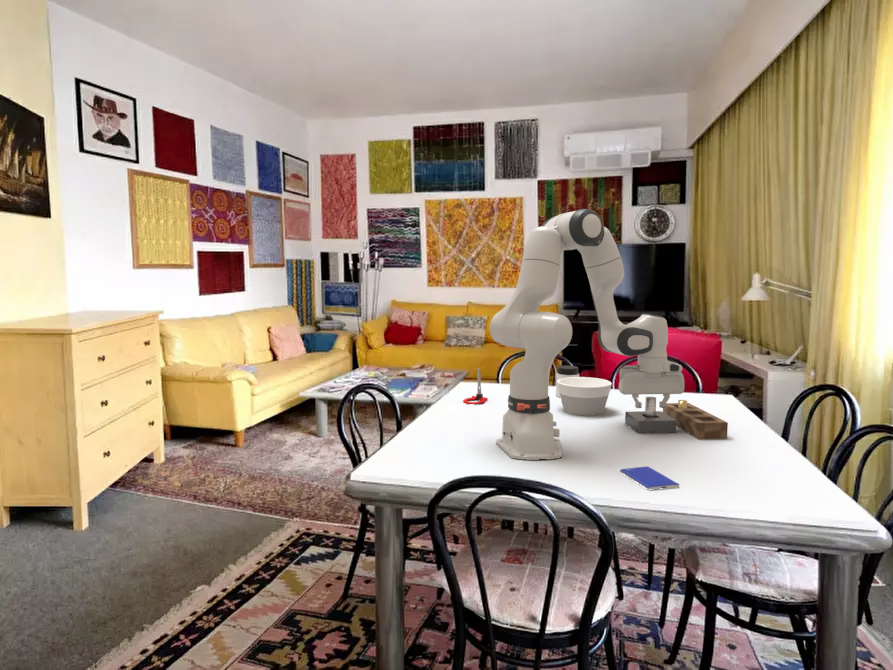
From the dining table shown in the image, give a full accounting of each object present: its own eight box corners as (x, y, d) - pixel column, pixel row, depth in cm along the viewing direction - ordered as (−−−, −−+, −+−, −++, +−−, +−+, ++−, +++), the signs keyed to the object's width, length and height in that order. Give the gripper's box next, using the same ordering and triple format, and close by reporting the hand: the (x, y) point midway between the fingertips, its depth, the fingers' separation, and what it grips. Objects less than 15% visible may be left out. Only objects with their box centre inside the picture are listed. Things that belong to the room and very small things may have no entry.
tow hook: (478, 407, 221) (490, 401, 229) (477, 373, 219) (489, 368, 227) (459, 404, 225) (471, 398, 233) (458, 371, 224) (470, 366, 231)
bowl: (582, 402, 226) (583, 375, 225) (622, 412, 210) (623, 383, 209) (545, 409, 215) (545, 380, 214) (584, 420, 199) (585, 389, 198)
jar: (563, 393, 242) (563, 364, 241) (581, 396, 237) (582, 366, 236) (552, 397, 235) (553, 367, 234) (571, 399, 230) (572, 369, 229)
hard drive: (620, 468, 148) (648, 486, 136) (648, 466, 150) (679, 483, 138) (619, 474, 148) (648, 493, 136) (648, 472, 150) (679, 489, 138)
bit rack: (726, 438, 177) (727, 422, 177) (697, 439, 177) (698, 423, 176) (688, 417, 203) (688, 403, 202) (662, 417, 203) (663, 403, 202)
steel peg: (656, 429, 188) (657, 398, 187) (646, 429, 188) (647, 398, 187) (652, 426, 191) (653, 396, 190) (643, 426, 191) (644, 396, 190)
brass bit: (687, 422, 196) (688, 401, 196) (679, 422, 196) (680, 401, 196) (684, 420, 199) (684, 399, 198) (675, 420, 199) (676, 399, 198)
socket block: (676, 433, 184) (676, 420, 183) (638, 433, 183) (638, 420, 183) (660, 423, 195) (661, 411, 195) (625, 423, 195) (625, 411, 195)
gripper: (623, 366, 184) (621, 410, 185) (687, 366, 184) (685, 409, 186) (616, 363, 190) (615, 405, 191) (678, 363, 191) (677, 404, 192)
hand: (650, 407), depth 189 cm, fingers open, 6 cm apart
